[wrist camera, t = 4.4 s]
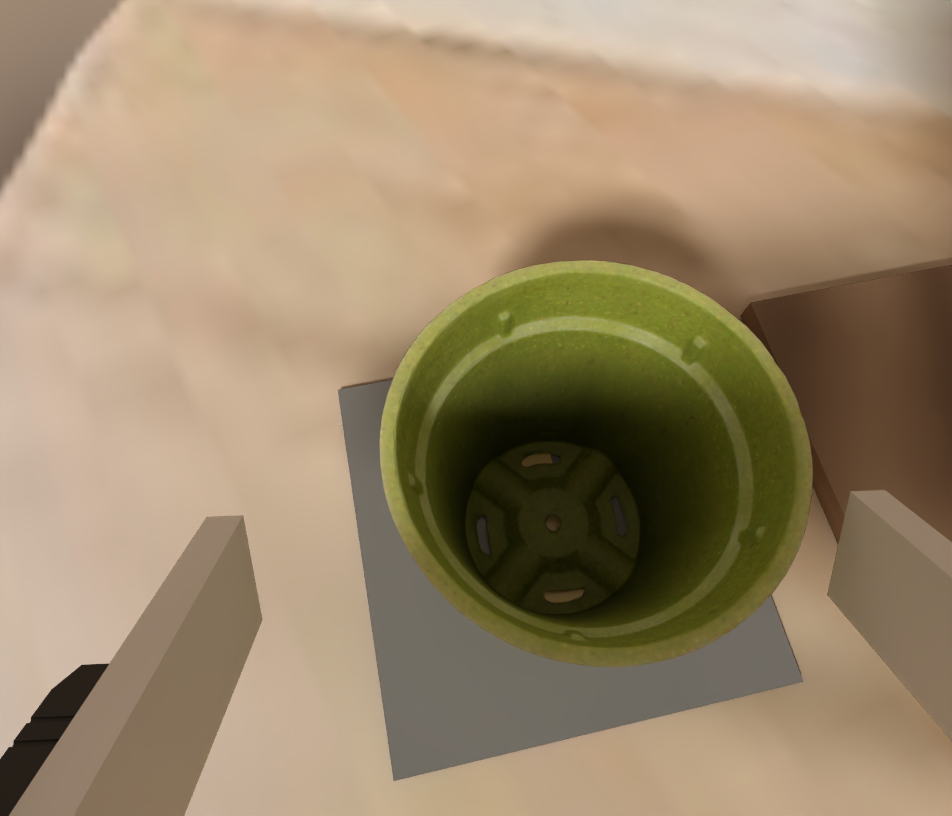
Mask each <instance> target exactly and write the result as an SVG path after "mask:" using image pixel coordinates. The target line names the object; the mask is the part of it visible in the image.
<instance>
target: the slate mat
mask: <svg viewBox="0 0 952 816" xmlns="http://www.w3.org/2000/svg"><path fill="white" fill-rule="evenodd" d="M392 381H393V380H388V381H383V382H378V383H372V384H367V385H362V386H356V387H351V388H346V389H340V390H338V394H339V401H340V408H341V415H342V422H343V429H344V436H345V443H346V450H347V457H348V464H349V471H350V478H351V485H352V492H353V499H354V506H355V513H356V520H357V527H358V534H359V541H360V548H361V555H362V562H363V569H364V576H365V583H366V590H367V597H368V604H369V611H370V618H371V625H372V632H373V639H374V646H375V653H376V660H377V667H378V674H379V681H380V688H381V695H382V702H383V709H384V716H385V723H386V730H387V737H388V744H389V751H390V758H391V765H392V772H393V779H394V781H396V780H400V779H404V778H408V777H412V776H416V775H420V774H424V773H429V772H433V771H437V770H441V769H445V768H449V767H453V766H457V765H462V764H466V763H470V762H474V761H478V760H482V759H486V758H490V757H495V756H499V755H503V754H507V753H511V752H515V751H519V750H523V749H528V748H532V747H536V746H540V745H544V744H548V743H552V742H556V741H561V740H565V739H569V738H573V737H577V736H581V735H585V734H589V733H594V732H598V731H602V730H606V729H610V728H614V727H618V726H622V725H627V724H631V723H635V722H639V721H643V720H647V719H651V718H655V717H660V716H664V715H668V714H672V713H676V712H680V711H684V710H688V709H693V708H697V707H701V706H705V705H709V704H713V703H717V702H721V701H726V700H730V699H734V698H738V697H742V696H746V695H750V694H754V693H759V692H763V691H767V690H771V689H775V688H779V687H783V686H787V685H792V684H796V683H800V682H803V679H802V677H801V674H800V671H799V669H798V666H797V663H796V661H795V658H794V655H793V653H792V650H791V647H790V645H789V642H788V639H787V637H786V634H785V631H784V629H783V626H782V623H781V621H780V618H779V615H778V613H777V610H776V608H775V605H774V602H773V600H772V597H771V595H770V596H769V598H768V599H767V600H766V601H765V602H764V603H763V604H762V606H761V607H760V608H759V609H758V610H757V611H756V612H755V613H753V614H752V615H751V616H750V617H748V618H747V619H746V620H745V621H743V622H742V623H741V624H740V625H739V626H737V627H736V628H735V629H733V630H732V631H730V632H729V633H727V634H726V635H724V636H722V637H721V638H719V639H717V640H716V641H714V642H712V643H711V644H709V645H707V646H705V647H703V648H700V649H698V650H696V651H694V652H691V653H688V654H686V655H684V656H680V657H677V658H673V659H669V660H665V661H662V662H657V663H652V664H647V665H639V666H629V667H595V666H583V665H576V664H569V663H564V662H559V661H555V660H551V659H548V658H544V657H541V656H538V655H534V654H531V653H528V652H526V651H523V650H521V649H518V648H516V647H514V646H512V645H510V644H508V643H506V642H504V641H502V640H500V639H498V638H497V637H495V636H493V635H492V634H490V633H488V632H487V631H485V630H483V629H482V628H480V627H479V626H478V625H476V624H475V623H474V622H472V621H471V620H470V619H468V618H467V617H465V616H464V615H463V614H462V613H461V612H459V611H458V610H457V609H456V608H455V607H454V606H453V605H452V604H450V603H449V602H448V601H447V600H446V599H445V598H444V597H443V596H442V595H441V594H440V592H439V591H438V590H437V589H436V588H435V587H434V586H433V585H432V584H431V582H430V581H429V580H428V579H427V577H426V576H425V575H424V573H423V572H422V571H421V569H420V568H419V567H418V565H417V564H416V562H415V561H414V559H413V558H412V556H411V554H410V553H409V551H408V549H407V548H406V546H405V544H404V542H403V540H402V538H401V536H400V534H399V532H398V530H397V528H396V525H395V523H394V520H393V518H392V515H391V512H390V510H389V506H388V503H387V500H386V496H385V492H384V487H383V481H382V473H381V466H380V430H381V420H382V414H383V410H384V406H385V402H386V398H387V394H388V391H389V388H390V386H391V383H392ZM559 461H560V458H559V457H558V456H557V455H553V454H547V453H545V454H534V455H530V456H527V457H526V458H525V459H523V461H522V463H521V464H522V465H523V466H525V467H529V466H532V465H535V464H544V463H547V464H552V463H558V462H559ZM610 501H611V503H612V505H613V509H614V513H615V517H616V525H617V533H618V534H620V535H621V536H622V535H624V534H625V533H626V532H627V519H626V516H625V515H624V513H623V510H622V506H621V501H620V500H619V499H618V498H616V497H614V496H612V498H611V499H610ZM546 526H547V527H548V528H549V529H550V530H551V531H555V530H557V529H558V528H559V527H560V520H559V518H558V517H557V516H555V515H551V516H548V517H547V520H546ZM477 531H478V536H479V542H480V546H481V549H482V551H483V552H485V553H487V554H490V553H491V548H490V544H489V539H488V534H487V517H486V516H485V515H482V516H480V518H479V520H478V521H477ZM585 591H586V590H585V588H579V589H572V590H567V591H546V592H545V593H544V596H545V599H546V600H547V601H550V602H553V603H557V602H566V601H571V600H573V599H575V598H578V597H580V596H582V595H583V593H584V592H585Z"/></svg>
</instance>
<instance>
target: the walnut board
mask: <svg viewBox="0 0 952 816" xmlns="http://www.w3.org/2000/svg"><path fill="white" fill-rule="evenodd" d="M741 318H742V321H743V323H744V324H745V325H746V326H747V327H748V328H749V329H750V331H751V332H752V333H753V334H754V335H755V336H756V337H757V338H758V339H759V340H760V341H761V342H762V344H763V345H764V346H765V348H766V349H767V350H768V352H769V353H770V355H771V356H772V357H773V359H774V361H775V363H776V364H777V366H778V367H779V368H780V370H781V371H782V373H783V374H784V375H785V377H786V379H787V381H788V383H789V385H790V387H791V389H792V391H793V393H794V395H795V397H796V399H797V402H798V406H799V409H800V412H801V415H802V417H803V420H804V422H805V426H806V430H807V433H808V437H809V442H810V447H811V455H812V465H813V480H812V484H813V487H814V489H815V491H816V494H817V496H818V498H819V501H820V503H821V505H822V508H823V510H824V512H825V515H826V517H827V519H828V522H829V524H830V526H831V529H832V531H833V533H834V536H835V538H836V540H837V543H838V544H839V540H840V535H841V531H842V526H843V522H844V517H845V513H846V508H847V504H848V499H849V495H850V491H870V490H886V491H887V492H888V493H889V494H891V495H892V496H893V497H895V498H896V499H897V500H898V501H900V502H901V503H902V504H903V505H905V506H906V507H907V508H909V509H910V510H911V511H912V512H914V513H915V514H916V515H918V516H919V517H920V518H921V519H923V520H924V521H925V522H926V523H928V524H929V525H930V526H932V527H933V528H934V529H935V530H937V531H938V532H939V533H941V534H942V535H943V536H944V537H946V538H947V539H948V540H949V541H951V542H952V265H949V266H943V267H938V268H933V269H927V270H922V271H917V272H911V273H906V274H901V275H895V276H890V277H885V278H879V279H874V280H869V281H863V282H858V283H853V284H848V285H842V286H837V287H832V288H826V289H821V290H816V291H810V292H805V293H800V294H794V295H789V296H784V297H778V298H773V299H768V300H762V301H757V302H752V303H750V304H749V306H748V307H747V308H746V310H745V311H744V312H743V314H742V315H741Z"/></svg>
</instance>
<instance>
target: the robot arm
mask: <svg viewBox="0 0 952 816" xmlns="http://www.w3.org/2000/svg"><path fill="white" fill-rule="evenodd" d="M827 595H828V596H829V597H830V598H831V600H832V601H833V602H834V603H835V604H836V606H837V607H838V608H839V609H840V610H841V611H842V613H843V614H844V615H845V616H846V617H847V619H848V620H849V621H850V622H851V623H852V624H853V626H854V627H855V628H856V629H857V630H858V632H859V633H860V634H861V635H862V636H863V637H864V639H865V640H866V641H867V642H868V643H869V644H870V646H871V647H872V648H873V649H874V650H875V652H876V653H877V654H878V655H879V656H880V657H881V659H882V660H883V661H884V662H885V663H886V665H887V666H888V667H889V668H890V669H891V670H892V672H893V673H894V674H895V675H896V676H897V677H898V679H899V680H900V681H901V682H902V683H903V685H904V686H905V687H906V688H907V689H908V690H909V692H910V693H911V694H912V695H913V696H914V698H915V699H916V700H917V701H918V702H919V703H920V705H921V706H922V707H923V708H924V709H925V711H926V712H927V713H928V714H929V715H930V716H931V718H932V719H933V720H934V721H935V722H936V723H937V725H938V726H939V727H940V728H941V729H942V731H943V732H944V733H945V734H946V735H947V736H948V738H949V739H950V740H951V741H952V542H951V541H949V540H948V539H947V538H946V537H944V536H943V535H942V534H941V533H939V532H938V531H937V530H935V529H934V528H933V527H932V526H930V525H929V524H928V523H926V522H925V521H924V520H923V519H921V518H920V517H919V516H918V515H916V514H915V513H914V512H912V511H911V510H910V509H909V508H907V507H906V506H905V505H903V504H902V503H901V502H900V501H898V500H897V499H896V498H895V497H893V496H892V495H891V494H889V493H888V492H887V491H886V490H870V491H850V495H849V499H848V504H847V508H846V513H845V517H844V522H843V526H842V531H841V535H840V540H839V544H838V549H837V553H836V558H835V562H834V567H833V571H832V576H831V580H830V585H829V589H828V594H827ZM261 622H262V615H261V610H260V604H259V599H258V594H257V588H256V583H255V577H254V572H253V566H252V561H251V556H250V550H249V545H248V539H247V534H246V528H245V523H244V518H243V516H218V517H206V519H205V520H204V522H203V523H202V525H201V526H200V528H199V529H198V531H197V532H196V534H195V535H194V537H193V538H192V540H191V541H190V543H189V544H188V546H187V547H186V549H185V551H184V552H183V554H182V555H181V557H180V558H179V560H178V561H177V563H176V564H175V566H174V567H173V569H172V570H171V572H170V573H169V575H168V576H167V578H166V579H165V581H164V582H163V584H162V585H161V587H160V588H159V590H158V591H157V593H156V594H155V596H154V597H153V599H152V600H151V602H150V603H149V605H148V606H147V608H146V609H145V611H144V612H143V614H142V615H141V617H140V618H139V620H138V621H137V623H136V624H135V626H134V627H133V629H132V631H131V632H130V634H129V635H128V637H127V638H126V640H125V641H124V643H123V644H122V646H121V647H120V649H119V650H118V652H117V653H116V655H115V656H114V658H113V659H112V661H111V662H110V664H91V665H81V666H80V667H79V668H77V669H76V670H75V671H74V672H73V673H71V674H70V675H69V676H68V677H66V678H65V679H64V680H63V681H61V682H60V683H59V684H58V685H57V686H55V687H54V688H53V689H52V690H51V691H50V692H49V694H48V695H47V697H46V698H45V699H44V701H43V702H42V703H41V705H40V706H39V707H38V709H37V710H36V711H35V713H34V714H33V715H32V717H31V722H30V723H27V724H26V725H25V726H24V728H23V729H22V730H21V732H20V733H19V734H18V736H17V737H16V739H15V740H14V744H13V747H9V748H8V749H7V751H6V752H5V753H4V755H3V756H2V757H1V759H0V816H184V815H185V812H186V810H187V807H188V805H189V802H190V800H191V797H192V795H193V792H194V789H195V787H196V784H197V782H198V779H199V777H200V774H201V772H202V769H203V767H204V764H205V762H206V759H207V757H208V754H209V752H210V749H211V747H212V744H213V742H214V739H215V737H216V734H217V732H218V729H219V727H220V724H221V722H222V719H223V717H224V714H225V712H226V709H227V707H228V704H229V702H230V699H231V697H232V694H233V692H234V689H235V687H236V684H237V682H238V679H239V677H240V674H241V672H242V669H243V667H244V664H245V662H246V659H247V657H248V654H249V652H250V649H251V647H252V644H253V642H254V639H255V637H256V634H257V632H258V629H259V627H260V624H261Z"/></svg>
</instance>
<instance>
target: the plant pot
mask: <svg viewBox="0 0 952 816" xmlns="http://www.w3.org/2000/svg"><path fill="white" fill-rule="evenodd" d="M545 453H547V454H553V455H557V456H558V457H559V458H560V461H559V462H558V463H552V464H547V463H544V464H535V465H532V466H529V467H525V466H523V465H522V464H521V463H522V461H523V459H525V458H526V457H527V456H530V455H534V454H545ZM380 466H381V473H382V481H383V487H384V492H385V496H386V500H387V503H388V506H389V510H390V512H391V515H392V518H393V520H394V523H395V525H396V528H397V530H398V532H399V534H400V536H401V538H402V540H403V542H404V544H405V546H406V548H407V549H408V551H409V553H410V554H411V556H412V558H413V559H414V561H415V562H416V564H417V565H418V567H419V568H420V569H421V571H422V572H423V573H424V575H425V576H426V577H427V579H428V580H429V581H430V582H431V584H432V585H433V586H434V587H435V588H436V589H437V590H438V591H439V592H440V594H441V595H442V596H443V597H444V598H445V599H446V600H447V601H448V602H449V603H450V604H452V605H453V606H454V607H455V608H456V609H457V610H458V611H459V612H461V613H462V614H463V615H464V616H465V617H467V618H468V619H470V620H471V621H472V622H474V623H475V624H476V625H478V626H479V627H480V628H482V629H483V630H485V631H487V632H488V633H490V634H492V635H493V636H495V637H497V638H498V639H500V640H502V641H504V642H506V643H508V644H510V645H512V646H514V647H516V648H518V649H521V650H523V651H526V652H528V653H531V654H534V655H538V656H541V657H544V658H548V659H551V660H555V661H559V662H564V663H569V664H576V665H583V666H595V667H629V666H639V665H647V664H652V663H657V662H662V661H665V660H669V659H673V658H677V657H680V656H684V655H686V654H688V653H691V652H694V651H696V650H698V649H700V648H703V647H705V646H707V645H709V644H711V643H712V642H714V641H716V640H717V639H719V638H721V637H722V636H724V635H726V634H727V633H729V632H730V631H732V630H733V629H735V628H736V627H737V626H739V625H740V624H741V623H742V622H743V621H745V620H746V619H747V618H748V617H750V616H751V615H752V614H753V613H755V612H756V611H757V610H758V609H759V608H760V607H761V606H762V604H763V603H764V602H765V601H766V600H767V599H768V598H769V596H770V595H771V594H772V593H773V592H774V591H775V589H776V588H777V587H778V585H779V584H780V582H781V581H782V579H783V578H784V576H785V575H786V573H787V572H788V570H789V568H790V566H791V564H792V562H793V560H794V558H795V556H796V554H797V552H798V550H799V547H800V545H801V541H802V538H803V536H804V533H805V529H806V524H807V520H808V515H809V510H810V502H811V496H812V480H813V465H812V455H811V447H810V442H809V437H808V433H807V430H806V426H805V422H804V420H803V417H802V415H801V412H800V409H799V406H798V402H797V399H796V397H795V395H794V393H793V391H792V389H791V387H790V385H789V383H788V381H787V379H786V377H785V375H784V374H783V373H782V371H781V370H780V368H779V367H778V366H777V364H776V363H775V361H774V359H773V357H772V356H771V355H770V353H769V352H768V350H767V349H766V348H765V346H764V345H763V344H762V342H761V341H760V340H759V339H758V338H757V337H756V336H755V335H754V334H753V333H752V332H751V331H750V329H749V328H748V327H747V326H746V325H745V324H743V323H742V322H741V321H740V320H739V319H737V318H736V317H735V316H733V315H732V314H731V313H729V312H728V311H727V310H726V309H725V308H723V307H722V306H721V305H719V304H718V303H717V302H715V301H714V300H713V299H711V298H710V297H708V296H707V295H705V294H703V293H702V292H700V291H698V290H696V289H694V288H693V287H691V286H689V285H686V284H684V283H682V282H680V281H678V280H676V279H674V278H671V277H669V276H666V275H663V274H661V273H658V272H656V271H652V270H648V269H644V268H641V267H637V266H633V265H629V264H622V263H616V262H609V261H596V260H576V261H560V262H551V263H545V264H539V265H533V266H529V267H525V268H521V269H518V270H515V271H512V272H508V273H506V274H503V275H501V276H499V277H496V278H494V279H492V280H489V281H488V282H486V283H484V284H482V285H480V286H478V287H476V288H474V289H473V290H471V291H469V292H468V293H466V294H465V295H463V296H461V297H460V298H458V299H457V300H456V301H454V302H453V303H452V304H451V305H449V306H448V307H447V308H446V309H445V310H444V311H442V312H441V313H440V314H439V315H438V316H437V317H436V318H435V319H434V320H433V321H431V322H430V323H429V325H428V326H426V327H425V328H424V329H423V330H422V332H421V333H420V334H419V336H418V337H417V338H416V340H415V341H414V343H413V344H412V345H411V347H410V348H409V350H408V351H407V353H406V354H405V356H404V358H403V359H402V361H401V363H400V365H399V367H398V369H397V371H396V373H395V376H394V378H393V381H392V383H391V386H390V388H389V391H388V394H387V398H386V402H385V406H384V410H383V414H382V420H381V430H380ZM612 496H614V497H616V498H618V499H619V500H620V501H621V506H622V510H623V513H624V515H625V516H626V519H627V532H626V533H625V534H624V535H622V536H621V535H620V534H618V533H617V525H616V517H615V513H614V509H613V505H612V503H611V501H610V499H611V498H612ZM482 515H485V516H486V517H487V534H488V539H489V544H490V548H491V553H490V554H487V553H485V552H483V551H482V549H481V546H480V542H479V536H478V531H477V521H478V520H479V518H480V516H482ZM551 515H555V516H557V517H558V518H559V520H560V527H559V528H558V529H557V530H555V531H551V530H550V529H549V528H548V527H547V526H546V520H547V517H548V516H551ZM579 588H585V590H586V591H585V592H584V593H583V595H582V596H580V597H578V598H575V599H573V600H571V601H566V602H557V603H553V602H550V601H547V600H546V599H545V596H544V593H545V592H546V591H567V590H572V589H579Z"/></svg>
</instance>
